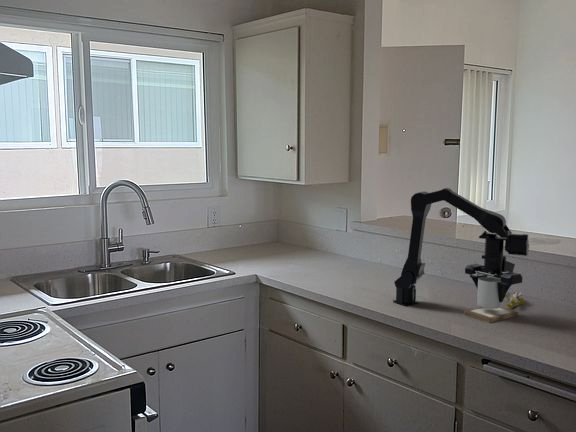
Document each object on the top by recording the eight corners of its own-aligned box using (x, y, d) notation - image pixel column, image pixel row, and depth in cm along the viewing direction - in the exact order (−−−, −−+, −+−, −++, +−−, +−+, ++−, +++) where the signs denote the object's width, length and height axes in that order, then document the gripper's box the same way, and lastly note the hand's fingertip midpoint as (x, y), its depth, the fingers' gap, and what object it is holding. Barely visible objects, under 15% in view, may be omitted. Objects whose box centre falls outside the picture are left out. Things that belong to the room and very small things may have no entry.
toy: (500, 303, 196) (504, 290, 210) (510, 316, 196) (513, 302, 209) (514, 295, 194) (517, 283, 207) (523, 308, 193) (526, 295, 207)
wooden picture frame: (489, 322, 181) (489, 318, 181) (464, 314, 189) (464, 310, 189) (517, 315, 188) (517, 311, 188) (492, 308, 197) (492, 304, 196)
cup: (474, 306, 187) (475, 280, 186) (482, 300, 195) (483, 274, 194) (497, 310, 183) (498, 283, 182) (504, 303, 191) (506, 277, 190)
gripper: (534, 255, 182) (531, 302, 184) (487, 246, 198) (484, 290, 200) (512, 258, 177) (509, 307, 179) (464, 249, 192) (462, 294, 194)
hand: (491, 299), depth 188 cm, fingers closed on cup, 7 cm apart
